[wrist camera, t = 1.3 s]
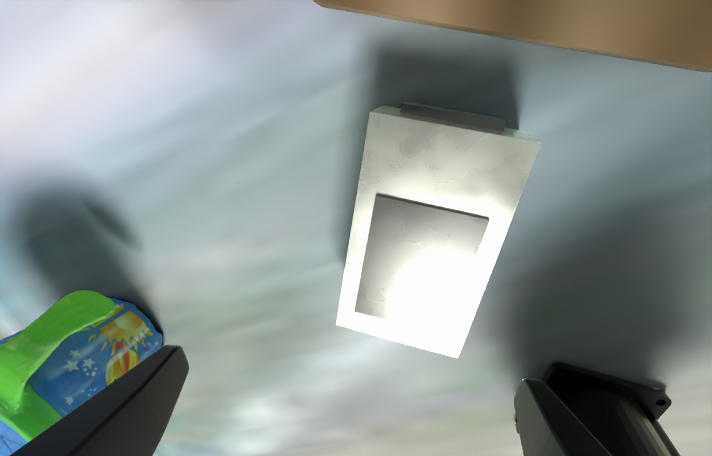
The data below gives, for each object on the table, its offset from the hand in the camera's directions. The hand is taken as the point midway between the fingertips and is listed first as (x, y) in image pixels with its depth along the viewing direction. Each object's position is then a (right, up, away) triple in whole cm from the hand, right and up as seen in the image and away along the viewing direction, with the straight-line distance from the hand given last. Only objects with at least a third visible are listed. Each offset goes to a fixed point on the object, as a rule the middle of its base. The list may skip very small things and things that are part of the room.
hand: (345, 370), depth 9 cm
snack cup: (-19, -5, +19) cm, 27 cm away
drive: (+4, +4, +10) cm, 11 cm away
